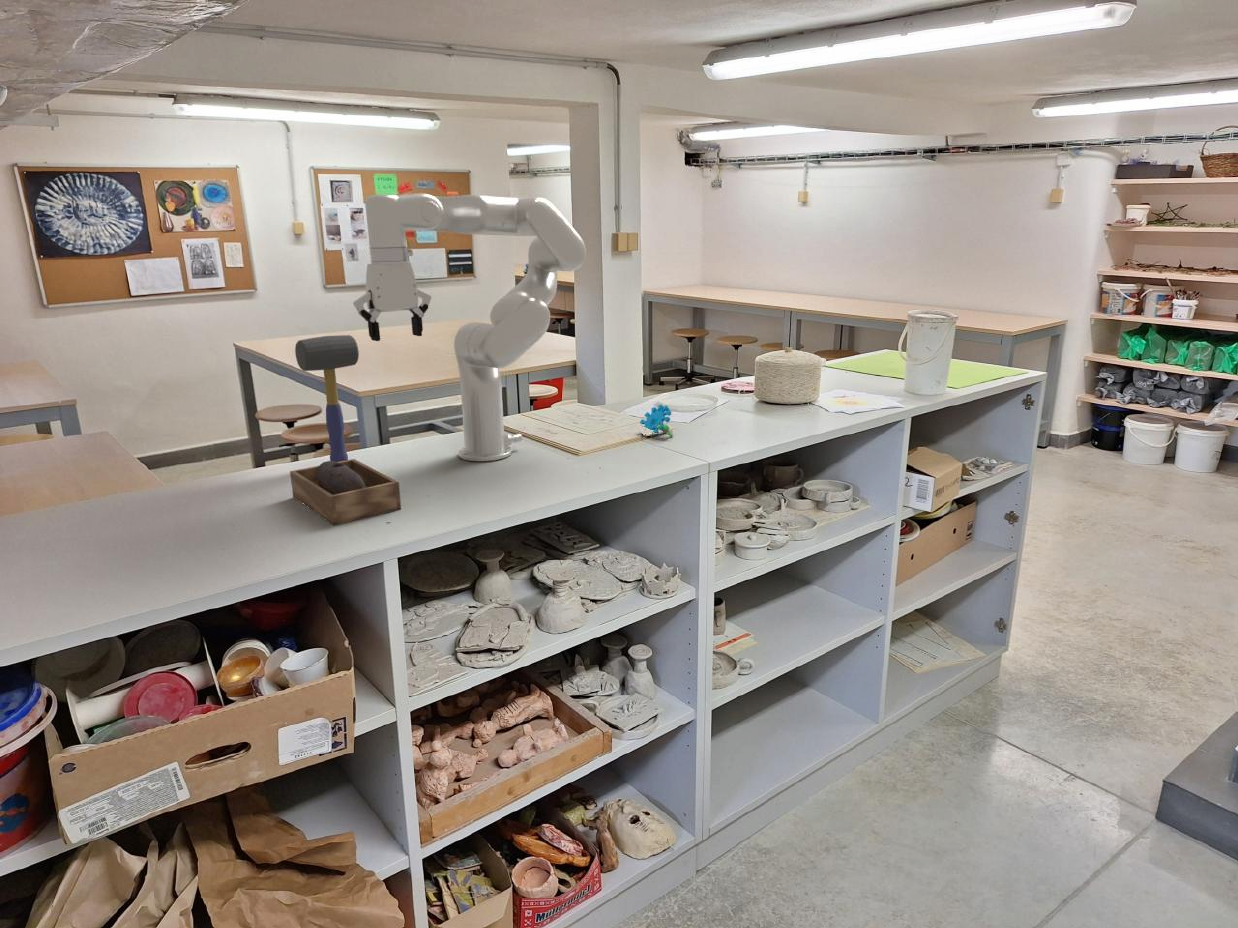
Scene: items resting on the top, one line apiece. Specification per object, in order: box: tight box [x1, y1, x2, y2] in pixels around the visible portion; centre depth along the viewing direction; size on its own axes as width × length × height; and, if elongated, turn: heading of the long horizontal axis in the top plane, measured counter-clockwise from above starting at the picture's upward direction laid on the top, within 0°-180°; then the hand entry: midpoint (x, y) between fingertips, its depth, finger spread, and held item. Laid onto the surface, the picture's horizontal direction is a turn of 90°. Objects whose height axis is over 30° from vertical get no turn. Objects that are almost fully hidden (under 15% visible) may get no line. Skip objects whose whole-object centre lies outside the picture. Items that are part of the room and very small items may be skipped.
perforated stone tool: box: [317, 460, 367, 495], centre depth 167 cm, size 15×5×7 cm, turn 46°
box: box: [289, 458, 402, 526], centre depth 167 cm, size 14×22×6 cm, turn 40°
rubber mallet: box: [294, 334, 360, 462], centre depth 190 cm, size 12×8×30 cm, turn 130°
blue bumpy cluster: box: [639, 404, 674, 438], centre depth 217 cm, size 11×6×10 cm
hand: (396, 338), depth 180 cm, fingers open, 9 cm apart
